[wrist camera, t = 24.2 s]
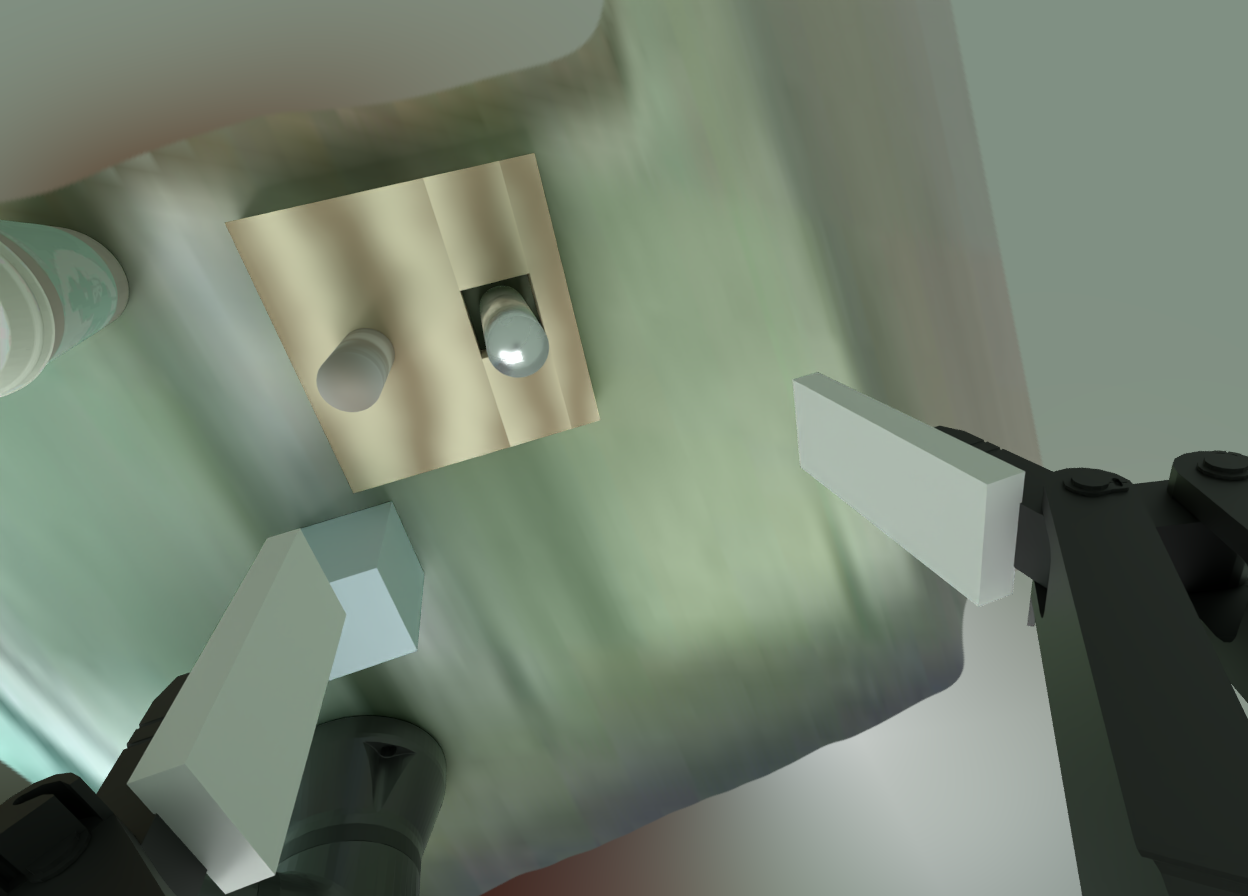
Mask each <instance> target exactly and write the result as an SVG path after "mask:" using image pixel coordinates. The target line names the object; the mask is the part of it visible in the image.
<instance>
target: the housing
mask: <svg viewBox="0 0 1248 896" xmlns="http://www.w3.org/2000/svg"><path fill="white" fill-rule="evenodd" d="M301 531H302V533H303V535H304V537H305V538H306V540H307V542H308V544H309V546H310V548H311V550H312V551H313V553H314V555H315V557H316V559H317V561H318V563H319V564H320V566H321V568H322V570H323V572H324V574H325V576H326V578H327V579H328V581H329V583H330V585H331V587H332V589H333V591H334V592H335V594H336V596H337V598H338V600H339V602H340V604H341V605H342V607H343V609H344V611H345V613H346V618H345V622H344V626H343V629H342V633H341V637H340V640H339V644H338V648H337V651H336V655H335V659H334V662H333V666H332V669H331V673H330V677H329V680H328V681H330V680H333V679H336V678H339V677H342V676H345V675H348V674H350V673H353V672H356V671H359V670H362V669H365V668H368V667H371V666H374V665H377V664H380V663H383V662H386V661H389V660H392V659H395V658H398V657H400V656H403V655H406V654H409V653H412V652H415V651H417V647H418V637H419V626H420V616H421V605H422V595H423V584H424V572H423V570H422V568H421V565H420V563H419V561H418V559H417V556H416V554H415V552H414V550H413V547H412V545H411V543H410V541H409V538H408V536H407V534H406V532H405V529H404V527H403V525H402V523H401V520H400V518H399V516H398V514H397V511H396V509H395V507H394V505H393V503H392V501H391V502H387V503H384V504H381V505H377V506H374V507H371V508H368V509H364V510H361V511H358V512H354V513H351V514H348V515H344V516H341V517H338V518H334V519H331V520H328V521H324V522H321V523H318V524H314V525H311V526H308V527H305V528H301Z"/></svg>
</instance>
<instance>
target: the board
mask: <svg viewBox="0 0 1248 896" xmlns="http://www.w3.org/2000/svg"><path fill="white" fill-rule="evenodd" d="M225 224H226V227H227V229H228V231H229V233H230V235H231V237H232V239H233V241H234V243H235V245H236V248H237V250H238V252H239V254H240V256H241V258H242V260H243V262H244V264H245V266H246V269H247V271H248V273H249V275H250V277H251V279H252V281H253V283H254V285H255V288H256V290H257V292H258V294H259V296H260V298H261V300H262V302H263V304H264V306H265V309H266V311H267V313H268V315H269V317H270V319H271V321H272V323H273V325H274V327H275V330H276V332H277V334H278V336H279V338H280V340H281V342H282V344H283V346H284V349H285V351H286V353H287V355H288V357H289V359H290V361H291V363H292V365H293V367H294V370H295V372H296V374H297V376H298V378H299V380H300V382H301V384H302V386H303V388H304V391H305V393H306V395H307V397H308V399H309V401H310V403H311V405H312V407H313V409H314V412H315V414H316V416H317V418H318V420H319V422H320V424H321V426H322V428H323V431H324V433H325V435H326V437H327V439H328V441H329V443H330V445H331V447H332V449H333V452H334V454H335V456H336V458H337V460H338V462H339V464H340V466H341V468H342V470H343V473H344V475H345V477H346V479H347V481H348V483H349V485H350V487H351V489H352V492H353V494H354V493H357V492H360V491H364V490H367V489H370V488H374V487H377V486H381V485H384V484H387V483H391V482H394V481H397V480H401V479H404V478H407V477H411V476H414V475H418V474H421V473H424V472H428V471H431V470H434V469H438V468H441V467H444V466H448V465H451V464H455V463H458V462H461V461H465V460H468V459H471V458H475V457H478V456H482V455H485V454H488V453H492V452H495V451H498V450H502V449H505V448H508V447H512V446H515V445H519V444H522V443H525V442H529V441H532V440H535V439H539V438H542V437H545V436H549V435H552V434H556V433H559V432H562V431H566V430H569V429H572V428H576V427H579V426H582V425H586V424H589V423H593V422H596V421H599V420H600V416H599V412H598V408H597V404H596V400H595V396H594V392H593V388H592V384H591V380H590V376H589V372H588V368H587V364H586V360H585V356H584V352H583V348H582V343H581V339H580V335H579V331H578V327H577V323H576V319H575V315H574V311H573V307H572V303H571V299H570V295H569V291H568V287H567V283H566V279H565V275H564V271H563V266H562V262H561V258H560V254H559V250H558V246H557V242H556V238H555V234H554V230H553V226H552V222H551V218H550V214H549V210H548V206H547V202H546V198H545V194H544V189H543V185H542V181H541V177H540V173H539V169H538V165H537V161H536V157H535V153H531V154H527V155H523V156H518V157H514V158H509V159H505V160H500V161H496V162H492V163H487V164H483V165H478V166H474V167H469V168H465V169H460V170H456V171H452V172H447V173H443V174H438V175H434V176H429V177H425V178H421V179H416V180H412V181H407V182H403V183H398V184H394V185H389V186H385V187H381V188H376V189H372V190H367V191H363V192H358V193H354V194H350V195H345V196H341V197H336V198H332V199H327V200H323V201H318V202H314V203H310V204H305V205H301V206H296V207H292V208H287V209H283V210H278V211H274V212H270V213H265V214H261V215H256V216H252V217H247V218H243V219H239V220H234V221H230V222H225ZM524 274H527V276H528V279H529V283H530V287H531V290H532V294H533V298H534V301H535V305H536V309H537V312H538V316H539V319H540V323H541V327H542V328H543V330H544V331H545V333H546V335H547V338H548V341H549V353H548V357H547V360H546V362H545V363H544V365H543V366H542V367H541V368H540V369H539V370H538V371H537V372H535V373H534V374H532V375H530V376H527V377H521V378H515V377H510V376H507V375H504V374H502V373H501V372H499V371H498V370H497V369H496V368H495V367H494V366H493V365H492V364H491V362H490V360H489V358H488V355H487V350H486V349H485V350H480V347H479V344H478V340H477V337H476V334H475V331H474V328H473V325H472V322H471V319H470V316H469V313H468V310H467V307H466V304H465V301H464V297H463V294H462V290H466V289H470V288H473V287H477V286H481V285H485V284H489V283H493V282H497V281H501V280H505V279H509V278H513V277H517V276H520V275H524Z"/></svg>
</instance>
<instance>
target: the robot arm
mask: <svg viewBox="0 0 1248 896" xmlns="http://www.w3.org/2000/svg"><path fill="white" fill-rule="evenodd" d="M793 391H794V402H795V413H796V425H797V436H798V448H799V459H800V467H801V468H802V469H803V470H805V471H806V472H807V473H809V474H810V475H811V476H812V477H814V478H815V479H816V480H817V481H819V482H820V483H821V484H823V485H824V486H825V487H826V488H828V489H829V490H830V491H831V492H833V493H834V494H835V495H837V496H838V497H839V498H840V499H842V500H843V501H844V502H846V503H847V504H848V505H849V506H851V507H852V508H853V509H854V510H856V511H857V512H858V513H860V514H861V515H862V516H863V517H865V518H866V519H867V520H868V521H870V522H871V523H872V524H874V525H875V526H876V527H877V528H879V529H880V530H881V531H882V532H884V533H885V534H886V535H888V536H889V537H890V538H891V539H893V540H894V541H895V542H897V543H898V544H899V545H900V546H902V547H903V548H904V549H905V550H907V551H908V552H909V553H911V554H912V555H913V556H914V557H916V558H917V559H918V560H919V561H921V562H922V563H923V564H925V565H926V566H927V567H928V568H930V569H931V570H932V571H934V572H935V573H936V574H937V575H939V576H940V577H941V578H942V579H944V580H945V581H946V582H948V583H949V584H950V585H951V586H953V587H954V588H955V589H956V590H958V591H959V592H960V593H962V594H963V595H964V596H965V597H967V598H968V599H969V600H971V601H972V602H973V603H974V604H976V605H977V606H978V607H980V606H982V605H985V604H988V603H990V602H993V601H996V600H998V599H1001V598H1003V597H1006V596H1009V595H1011V594H1013V585H1014V576H1015V568H1016V569H1018V570H1019V571H1021V572H1022V573H1024V574H1025V575H1027V576H1028V577H1030V578H1031V579H1033V582H1032V590H1031V598H1030V607H1029V615H1028V624H1027V625H1028V626H1034V625H1035V622H1036V628H1037V633H1038V640H1039V645H1040V651H1041V656H1042V663H1043V669H1044V675H1045V681H1046V686H1047V692H1048V698H1049V703H1050V710H1051V716H1052V721H1053V727H1054V733H1055V739H1056V745H1057V750H1058V756H1059V762H1060V768H1061V774H1062V780H1063V785H1064V791H1065V798H1066V803H1067V809H1068V815H1069V821H1070V826H1071V833H1072V838H1073V844H1074V850H1075V856H1076V861H1077V867H1078V874H1079V879H1080V885H1081V891H1082V896H1248V718H1247V716H1246V714H1245V712H1244V710H1243V708H1242V706H1241V704H1240V702H1239V700H1238V698H1237V696H1236V694H1235V691H1234V689H1233V687H1232V685H1233V686H1234V687H1235V689H1236V690H1237V691H1238V692H1239V693H1240V694H1241V696H1242V697H1243V698H1244V699H1245V700H1246V702H1247V703H1248V457H1247V456H1244V455H1241V454H1239V453H1234V452H1228V453H1227V452H1226V451H1198V452H1192V453H1186V454H1183V455H1181V456H1179V457H1177V458H1175V460H1174V462H1173V465H1172V469H1171V473H1170V478H1169V480H1164V481H1157V482H1147V483H1139V484H1132V483H1131V482H1130V480H1127V479H1125V478H1123V477H1121V476H1119V475H1117V474H1115V473H1111V472H1107V471H1103V470H1099V469H1090V468H1069V469H1068V468H1066V469H1063V470H1059V471H1055V472H1053V471H1050V470H1048V469H1046V468H1044V467H1042V466H1039V465H1037V464H1035V463H1033V462H1031V461H1028V460H1026V459H1024V458H1022V457H1020V456H1018V455H1015V454H1013V453H1011V452H1009V451H1007V450H1004V449H1002V450H1000V447H998V446H996V445H994V444H991V443H989V442H984V440H983V439H980V438H978V437H976V436H974V435H972V434H970V433H967V432H965V431H962V430H957V429H952V428H948V427H943V426H937V427H934V428H933V427H931V426H929V425H927V424H925V423H923V422H921V421H919V420H917V419H915V418H913V417H911V416H908V415H906V414H904V413H902V412H900V411H898V410H896V409H894V408H892V407H890V406H888V405H886V404H883V403H881V402H879V401H877V400H875V399H873V398H871V397H869V396H867V395H865V394H863V393H861V392H858V391H856V390H854V389H852V388H850V387H848V386H846V385H844V384H842V383H840V382H838V381H836V380H833V379H831V378H829V377H827V376H825V375H823V374H821V373H819V372H816V373H813V374H809V375H806V376H803V377H799V378H796V379H793ZM345 618H346V613H345V611H344V609H343V607H342V605H341V604H340V602H339V600H338V598H337V596H336V594H335V592H334V591H333V589H332V587H331V585H330V583H329V581H328V579H327V578H326V576H325V574H324V572H323V570H322V568H321V566H320V564H319V563H318V561H317V559H316V557H315V555H314V553H313V551H312V550H311V548H310V546H309V544H308V542H307V540H306V538H305V537H304V535H303V533H302V531H301V529H300V528H299V529H295V530H292V531H289V532H285V533H282V534H279V535H275V536H272V537H269V538H267V539H266V541H265V543H264V544H263V546H262V548H261V550H260V551H259V553H258V555H257V557H256V558H255V560H254V562H253V564H252V565H251V567H250V569H249V571H248V572H247V574H246V576H245V578H244V579H243V581H242V583H241V585H240V586H239V588H238V590H237V592H236V593H235V595H234V597H233V599H232V600H231V602H230V604H229V606H228V607H227V609H226V611H225V613H224V614H223V616H222V618H221V620H220V621H219V623H218V625H217V627H216V628H215V630H214V632H213V634H212V635H211V637H210V639H209V641H208V642H207V644H206V646H205V648H204V649H203V651H202V653H201V655H200V656H199V658H198V660H197V662H196V663H195V665H194V667H193V669H192V670H191V672H190V673H187V674H184V675H181V676H178V677H177V678H176V679H175V680H174V681H173V682H172V683H171V684H170V685H169V686H168V687H167V688H166V689H165V690H164V691H163V692H162V693H161V694H160V695H159V696H158V697H157V698H156V699H155V700H154V701H153V702H152V704H151V706H150V707H149V709H148V711H147V712H146V714H145V716H144V717H143V719H142V720H141V722H140V724H139V727H140V728H139V729H136V730H135V732H134V734H133V735H132V737H131V738H130V740H129V742H128V743H127V749H124V750H123V751H122V753H121V755H120V756H119V758H118V760H117V761H116V763H115V765H114V766H113V768H112V769H111V771H110V773H109V774H108V776H107V778H106V779H105V781H104V782H103V784H102V786H101V787H100V789H99V791H98V792H97V794H95V792H94V791H93V790H92V789H91V788H90V787H89V786H88V785H87V784H86V783H85V782H84V781H83V780H82V779H81V778H80V777H79V776H77V775H75V774H73V773H64V774H56V775H53V776H51V777H48V778H46V779H43V780H41V781H38V782H36V783H34V784H32V785H30V786H29V787H27V788H25V789H24V790H22V791H20V792H19V793H17V794H15V795H14V796H12V797H10V798H9V799H8V800H6V801H5V802H4V803H3V804H1V805H0V896H419V893H420V872H421V859H422V855H423V853H424V850H425V848H426V845H427V842H428V840H429V837H430V835H431V832H432V830H433V827H434V824H435V821H436V819H437V816H438V813H439V811H440V808H441V806H442V803H443V800H444V795H445V788H446V762H445V757H444V754H443V752H442V750H441V748H440V746H439V745H438V743H437V742H436V741H435V740H434V739H433V738H432V737H431V736H430V735H429V734H428V733H426V732H425V731H424V730H422V729H420V728H419V727H417V726H415V725H413V724H410V723H408V722H405V721H402V720H398V719H394V718H388V717H381V716H357V717H349V718H343V719H338V720H334V721H330V722H327V723H324V724H321V725H319V726H316V724H317V721H318V717H319V713H320V710H321V706H322V702H323V699H324V695H325V691H326V688H327V684H328V680H329V677H330V673H331V669H332V666H333V662H334V659H335V655H336V651H337V648H338V644H339V640H340V637H341V633H342V629H343V626H344V622H345ZM1231 684H1232V685H1231Z"/></svg>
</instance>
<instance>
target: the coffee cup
mask: <svg viewBox="0 0 1248 896" xmlns="http://www.w3.org/2000/svg"><path fill="white" fill-rule="evenodd" d="M128 297H129V286H128V281H127V278H126V275H125V273H124V271H123V269H122V267H121V265H120V264H119V262H118V261H117V259H116V258H115V257H114V256H113V255H112V254H111V253H110V252H109V251H108V250H107V249H106V248H105V247H104V246H103V245H101V244H100V243H99V242H97V241H96V240H94V239H92V238H91V237H89V236H87V235H85V234H82V233H80V232H77V231H74V230H71V229H67V228H62V227H54V226H47V225H39V224H31V223H22V222H14V221H6V220H0V397H3V396H6V395H9V394H11V393H14V392H16V391H18V390H20V389H22V388H23V387H25V386H26V385H28V384H29V383H30V382H32V381H33V380H34V379H35V378H36V377H37V376H38V375H39V374H40V373H41V372H42V370H43V369H44V368H45V366H46V364H48V363H49V362H51V361H53V360H54V359H56V358H57V357H59V356H60V355H62V354H63V353H65V352H67V351H68V350H70V349H71V348H73V347H74V346H76V345H77V344H79V343H81V342H82V341H84V340H85V339H87V338H88V337H90V336H91V335H93V334H95V333H96V332H98V331H99V330H101V329H102V328H104V327H105V326H107V325H108V324H110V323H111V322H113V321H114V320H116V319H117V318H118V317H119V316H120V315H121V314H122V312H123V311H124V309H125V307H126V305H127V302H128Z"/></svg>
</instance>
